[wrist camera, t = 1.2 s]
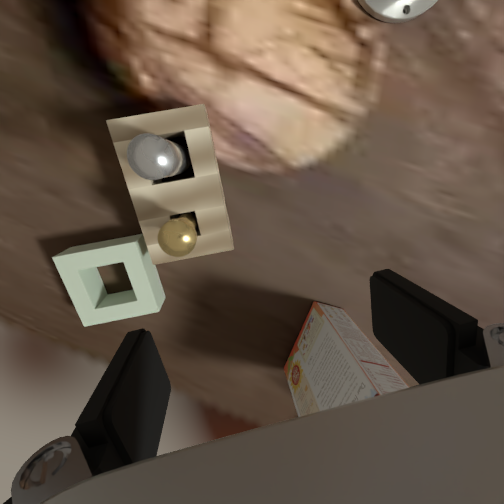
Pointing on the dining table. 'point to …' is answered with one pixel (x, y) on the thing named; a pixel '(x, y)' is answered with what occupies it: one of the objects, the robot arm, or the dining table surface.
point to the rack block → (92, 288)
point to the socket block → (176, 181)
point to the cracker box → (336, 363)
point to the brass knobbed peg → (178, 235)
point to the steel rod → (156, 157)
